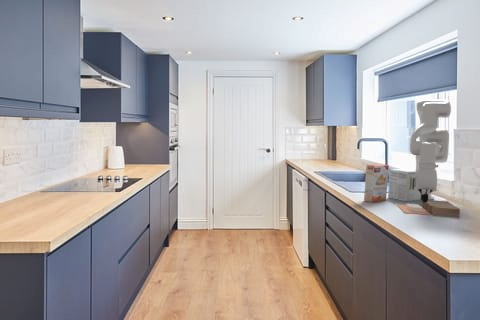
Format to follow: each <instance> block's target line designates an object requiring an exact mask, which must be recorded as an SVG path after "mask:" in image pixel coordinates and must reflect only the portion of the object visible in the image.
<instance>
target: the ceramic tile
mask: <svg viewBox="0 0 480 320" xmlns="http://www.w3.org/2000/svg"><path fill="white" fill-rule="evenodd" d="M405 205H406V208H407V209H408V210H409V211H418V212H423V209H424V208H423V207H422V206H421V205H420V204H416V203H406V204H405Z"/></svg>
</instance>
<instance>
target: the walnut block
mask: <svg viewBox="0 0 480 320" xmlns="http://www.w3.org/2000/svg"><path fill="white" fill-rule="evenodd" d="M421 207H422V208H423V209H425V210H426V211H427V212H428V213H430V215H432V216H440V217H454V218H455V217H456V218H459V217H460V213H461V209H460V208H459V207H458V206H455V205H454V204H453V203H450V201H447V200H436V199H435V200H434V199H431V200H428V201H427V202H422V206H421Z"/></svg>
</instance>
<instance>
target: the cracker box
mask: <svg viewBox="0 0 480 320" xmlns="http://www.w3.org/2000/svg"><path fill="white" fill-rule="evenodd" d="M389 171H390V167H389V164H381V163H380V164H378V163H377V164H366V168H365V178H364V180H365V181H364V194H363V195H364V197H363V201H364V202H367V203H368V202H370V203H376V202H383V201H387V196H388V184H389Z"/></svg>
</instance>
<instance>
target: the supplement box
mask: <svg viewBox="0 0 480 320" xmlns="http://www.w3.org/2000/svg"><path fill="white" fill-rule="evenodd" d="M415 174H416V169H409V168H389V173H388V188H387V198H389V199H394V200H398V201H399V200H400V201H401V202H403V201H404V202H412V201H413V200H414V201H420V200H421V199H420V196H421V193H420V192H419V191H417V190H414V187H415V186H414V181H415ZM419 189H420V188H419ZM414 201H413V202H414Z"/></svg>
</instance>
